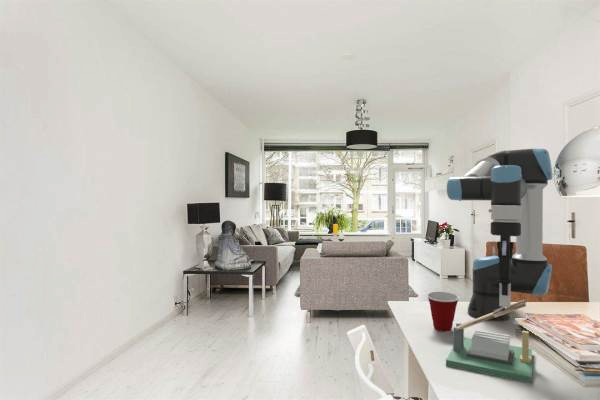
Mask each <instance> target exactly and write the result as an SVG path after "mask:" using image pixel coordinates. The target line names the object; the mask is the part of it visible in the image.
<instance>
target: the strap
mask: <svg viewBox="0 0 600 400" xmlns="http://www.w3.org/2000/svg"><path fill="white" fill-rule="evenodd" d="M525 307H527V301H526V299H522V300H519V301H517V302H515V303H512V304H511V307H510V308H509V307H501V308H499V309H496V310H494V312H493V313H490V314H487V315H485V316H482V317H480V318H475V319H472V320H469V321H467V322H464V323H461V325H459V326H456V325H455V327H457V328H461V330H462V329H464V330H465V329H468V328H470V327H472V326H475V325H478V324H481V323H483V322H486V321H489V320H488V319H491V318H494V317H495V318H496V317H498V316H501V315H504V314H506V313H509V312H510V313H513V311H516V310H519V309H522V308H525Z"/></svg>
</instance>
